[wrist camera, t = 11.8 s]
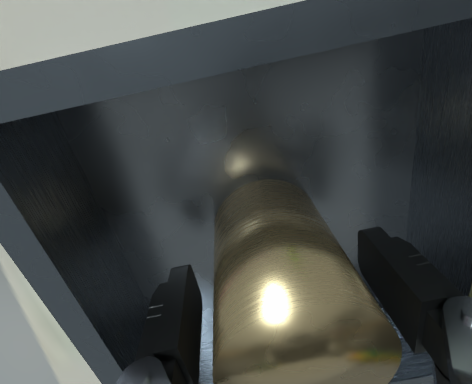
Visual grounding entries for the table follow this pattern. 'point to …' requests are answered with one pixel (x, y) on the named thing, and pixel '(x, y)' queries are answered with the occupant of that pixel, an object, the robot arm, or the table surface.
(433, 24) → the case
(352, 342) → the spout can
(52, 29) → the table surface
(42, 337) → the table surface
